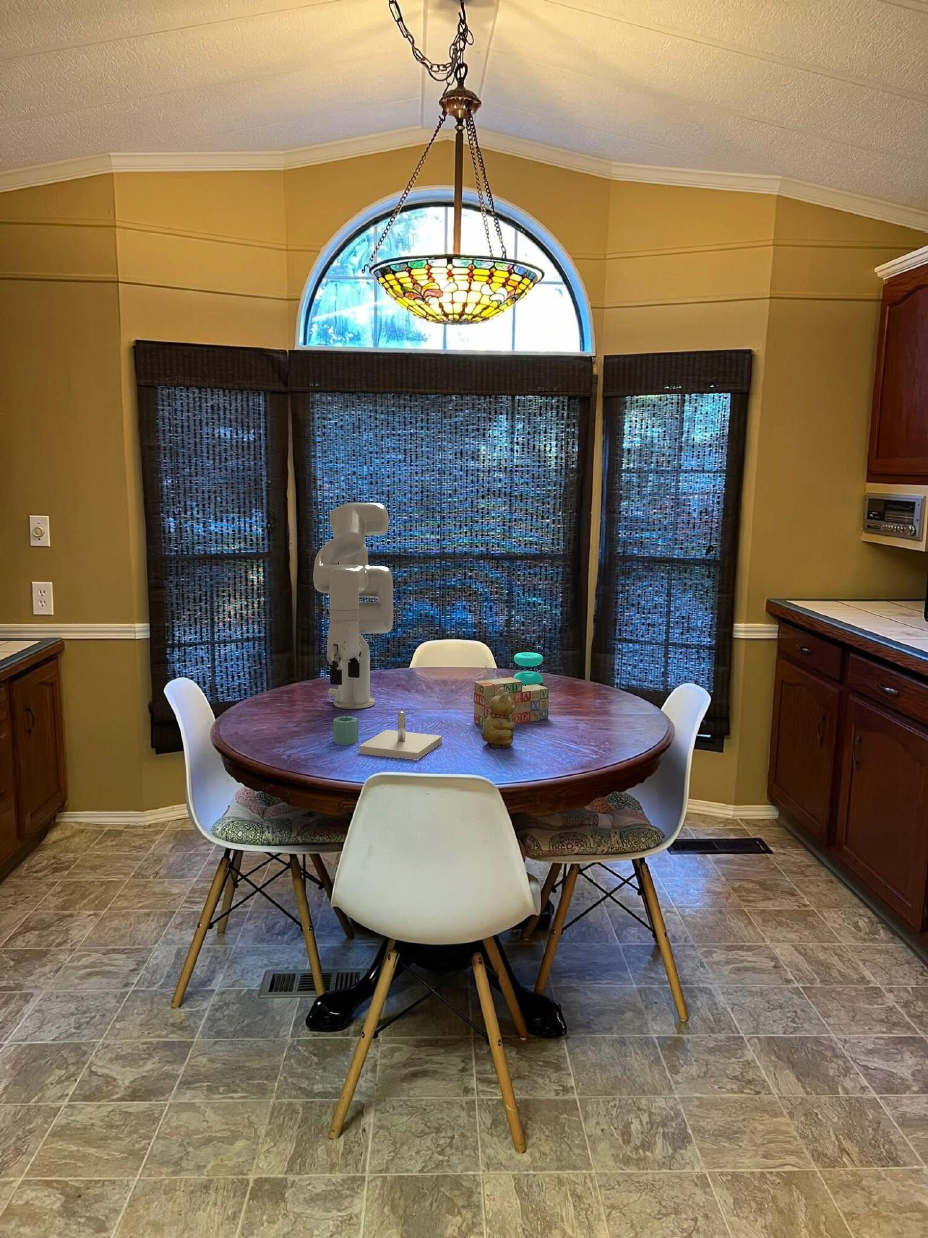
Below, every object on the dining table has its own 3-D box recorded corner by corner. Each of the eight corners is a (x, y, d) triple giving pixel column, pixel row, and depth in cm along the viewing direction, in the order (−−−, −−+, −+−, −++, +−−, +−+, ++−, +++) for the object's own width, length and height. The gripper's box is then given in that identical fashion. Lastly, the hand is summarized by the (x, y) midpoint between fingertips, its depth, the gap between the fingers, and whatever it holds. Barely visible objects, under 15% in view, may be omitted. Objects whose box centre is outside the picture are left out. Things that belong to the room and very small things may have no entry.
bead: (330, 743, 234) (329, 721, 233) (341, 737, 239) (340, 715, 238) (350, 745, 232) (350, 723, 231) (361, 739, 237) (361, 717, 236)
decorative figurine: (518, 749, 230) (519, 692, 228) (488, 751, 228) (489, 694, 226) (506, 739, 239) (507, 684, 237) (476, 741, 237) (477, 685, 235)
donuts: (542, 657, 299) (512, 656, 300) (541, 687, 300) (512, 685, 302) (544, 652, 309) (515, 651, 310) (543, 680, 310) (514, 679, 311)
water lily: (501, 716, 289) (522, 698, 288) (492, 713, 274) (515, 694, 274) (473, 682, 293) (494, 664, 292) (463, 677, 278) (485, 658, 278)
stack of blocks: (537, 714, 265) (538, 673, 263) (548, 719, 260) (549, 678, 258) (473, 722, 256) (473, 680, 254) (483, 728, 250) (484, 685, 248)
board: (359, 753, 225) (359, 716, 224) (386, 736, 240) (386, 702, 239) (417, 760, 220) (417, 723, 218) (441, 743, 235) (442, 708, 233)
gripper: (347, 610, 240) (347, 673, 242) (314, 619, 224) (315, 686, 226) (372, 612, 237) (372, 675, 239) (341, 620, 221) (342, 688, 223)
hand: (345, 680), depth 233 cm, fingers open, 9 cm apart
